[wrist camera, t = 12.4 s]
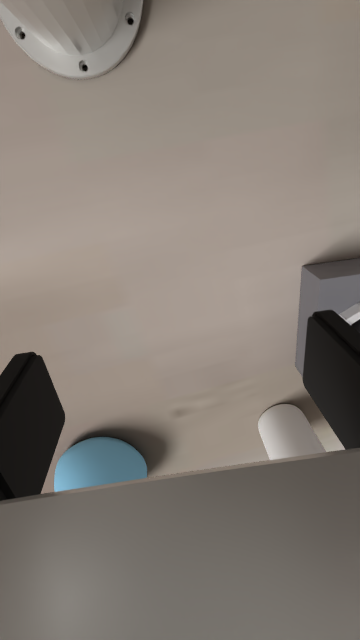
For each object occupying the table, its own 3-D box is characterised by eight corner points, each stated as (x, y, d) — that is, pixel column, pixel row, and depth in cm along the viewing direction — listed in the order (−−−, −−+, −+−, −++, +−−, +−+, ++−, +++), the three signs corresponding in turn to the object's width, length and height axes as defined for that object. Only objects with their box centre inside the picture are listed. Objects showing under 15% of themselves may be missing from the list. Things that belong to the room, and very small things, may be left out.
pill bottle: (311, 406, 52) (365, 492, 38) (290, 439, 55) (333, 529, 42) (268, 398, 50) (309, 484, 37) (249, 432, 54) (280, 523, 40)
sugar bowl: (163, 450, 54) (165, 519, 44) (120, 497, 59) (113, 568, 49) (84, 418, 49) (66, 486, 39) (45, 472, 54) (19, 545, 44)
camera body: (302, 266, 40) (327, 284, 34) (394, 253, 40) (434, 269, 34) (295, 366, 47) (315, 395, 42) (372, 355, 47) (402, 382, 42)
